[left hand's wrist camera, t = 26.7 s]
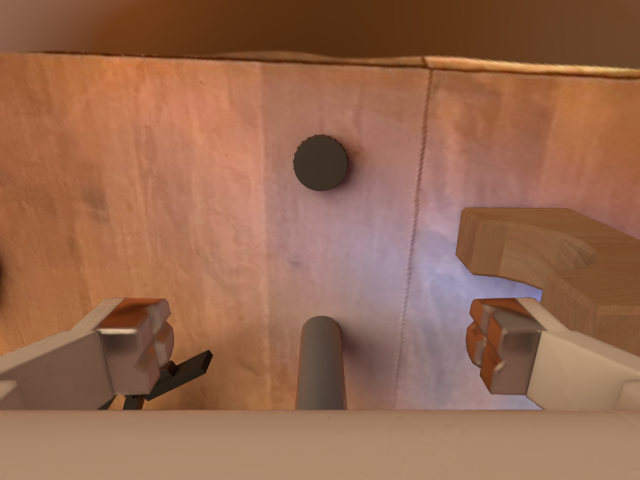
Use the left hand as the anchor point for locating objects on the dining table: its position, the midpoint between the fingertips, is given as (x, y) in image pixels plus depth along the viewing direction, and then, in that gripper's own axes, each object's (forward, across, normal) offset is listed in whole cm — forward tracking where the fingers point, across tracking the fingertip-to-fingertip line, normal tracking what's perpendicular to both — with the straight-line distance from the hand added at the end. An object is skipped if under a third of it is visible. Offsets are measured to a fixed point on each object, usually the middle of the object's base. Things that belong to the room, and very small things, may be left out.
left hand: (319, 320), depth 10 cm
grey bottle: (+28, 0, +20) cm, 35 cm away
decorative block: (+28, -20, +7) cm, 35 cm away
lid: (+27, 0, 0) cm, 27 cm away
